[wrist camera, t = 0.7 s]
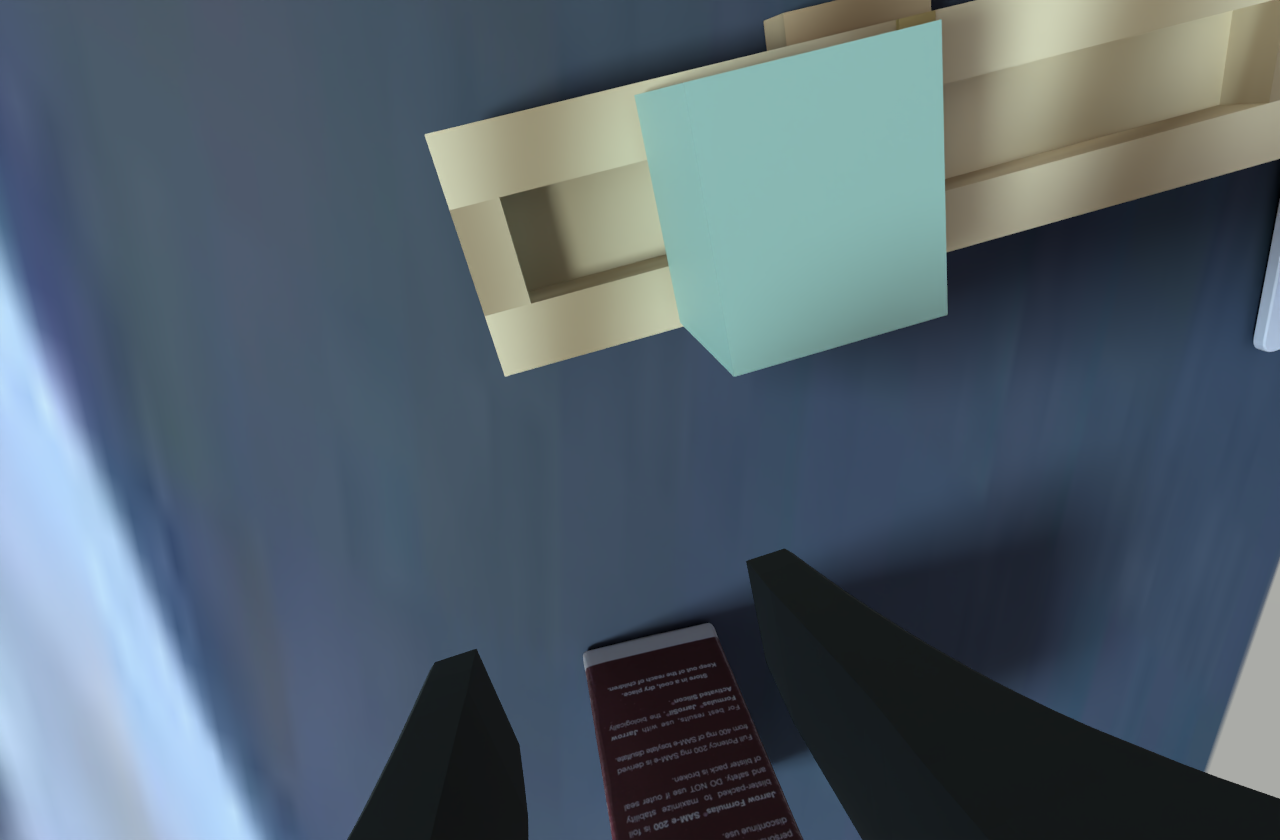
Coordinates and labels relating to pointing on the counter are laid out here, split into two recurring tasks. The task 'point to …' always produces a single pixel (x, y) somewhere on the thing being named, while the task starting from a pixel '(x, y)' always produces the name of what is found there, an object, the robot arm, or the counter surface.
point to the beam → (973, 148)
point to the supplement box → (681, 743)
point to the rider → (804, 197)
